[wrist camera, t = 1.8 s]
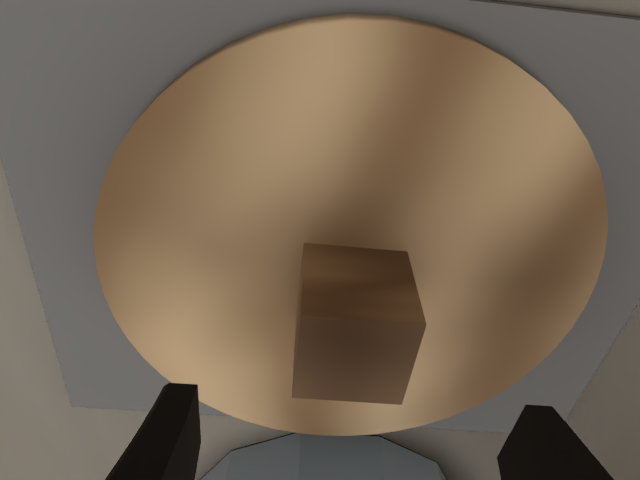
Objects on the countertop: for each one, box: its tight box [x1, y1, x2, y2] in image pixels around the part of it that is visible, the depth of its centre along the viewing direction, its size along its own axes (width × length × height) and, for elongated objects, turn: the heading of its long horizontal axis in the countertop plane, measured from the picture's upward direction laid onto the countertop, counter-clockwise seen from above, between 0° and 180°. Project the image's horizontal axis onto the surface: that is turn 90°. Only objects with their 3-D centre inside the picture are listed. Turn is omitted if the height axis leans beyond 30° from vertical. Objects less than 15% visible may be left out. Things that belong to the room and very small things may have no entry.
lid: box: [93, 13, 608, 436], centre depth 14 cm, size 15×15×4 cm
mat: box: [0, 0, 640, 433], centre depth 16 cm, size 20×16×1 cm
